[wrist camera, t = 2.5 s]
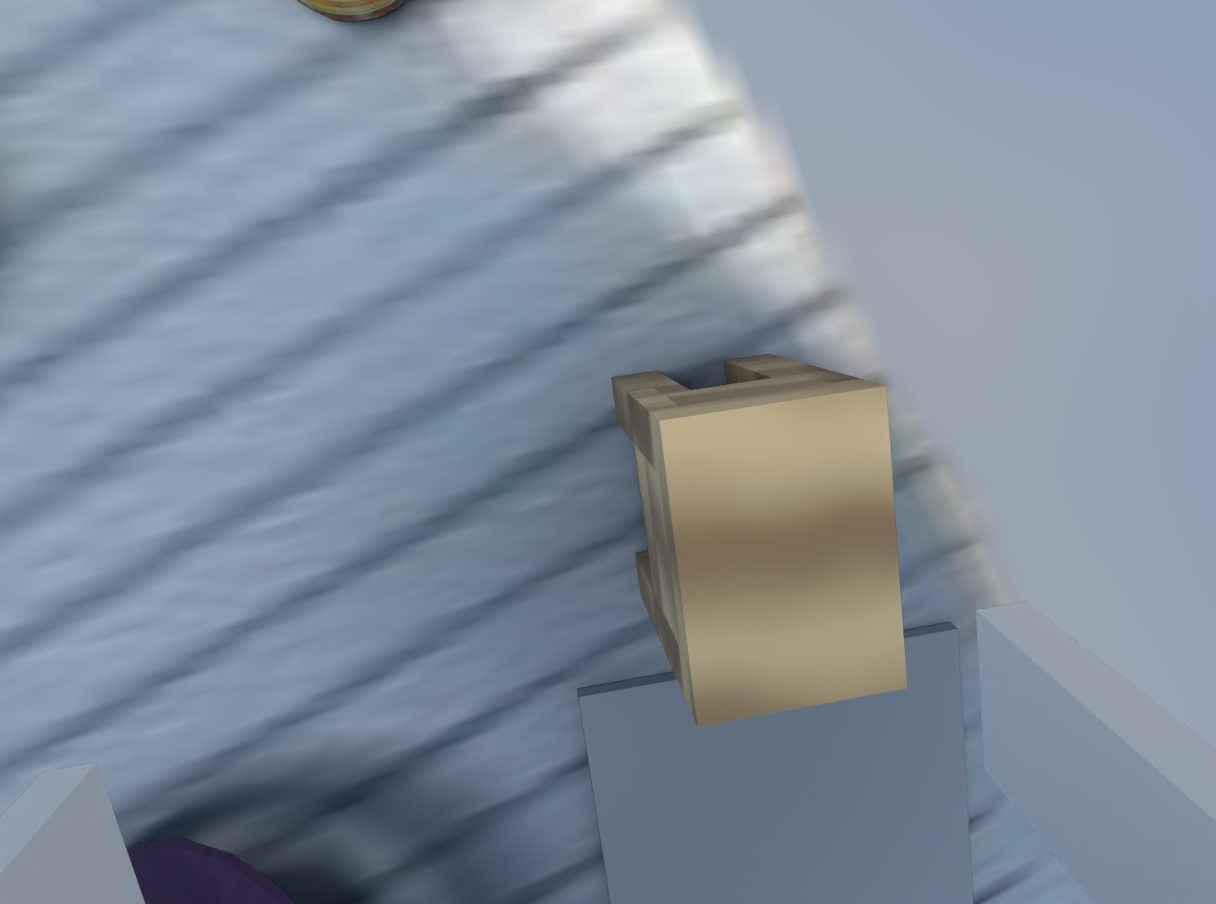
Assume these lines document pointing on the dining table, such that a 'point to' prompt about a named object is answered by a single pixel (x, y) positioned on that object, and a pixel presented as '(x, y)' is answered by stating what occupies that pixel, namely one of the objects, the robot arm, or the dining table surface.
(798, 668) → the notched wooden block
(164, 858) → the ringed planet sculpture
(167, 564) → the dining table surface
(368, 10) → the sauce bottle
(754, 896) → the slate mat
